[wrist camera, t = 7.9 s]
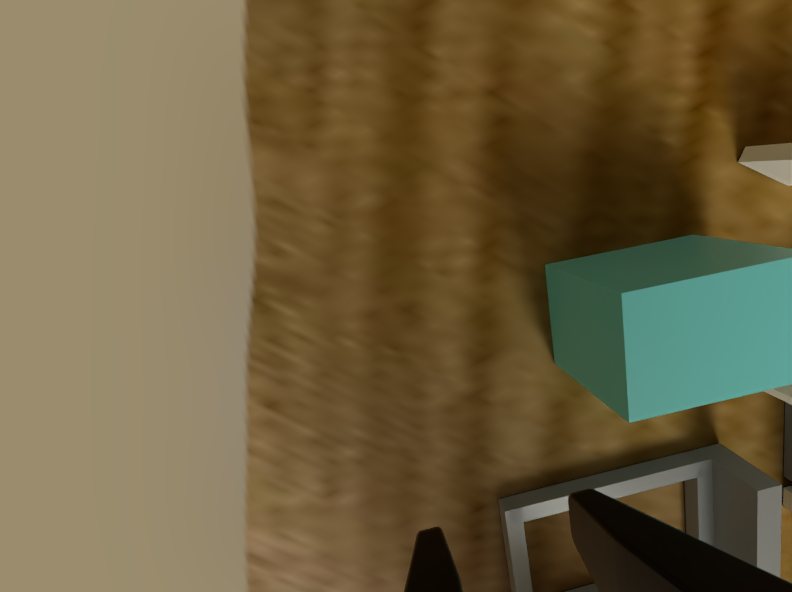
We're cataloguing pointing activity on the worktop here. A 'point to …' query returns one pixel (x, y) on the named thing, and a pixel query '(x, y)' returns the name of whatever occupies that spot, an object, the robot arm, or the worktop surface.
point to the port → (788, 168)
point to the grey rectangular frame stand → (704, 506)
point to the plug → (674, 323)
